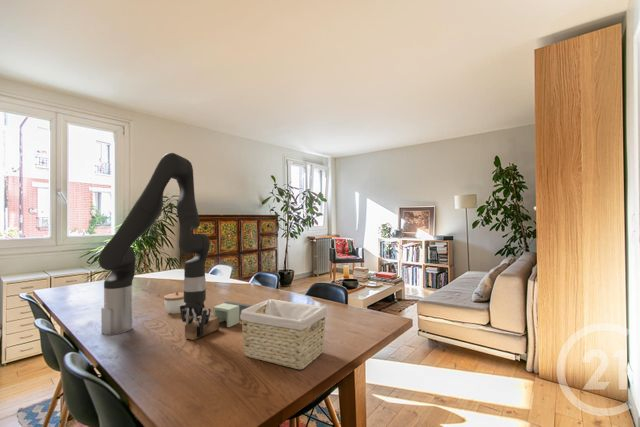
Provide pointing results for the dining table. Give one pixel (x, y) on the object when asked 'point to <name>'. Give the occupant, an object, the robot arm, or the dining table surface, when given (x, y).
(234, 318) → the sage block
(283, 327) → the storage basket
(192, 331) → the walnut block
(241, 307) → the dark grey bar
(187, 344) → the dining table surface
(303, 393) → the dining table surface
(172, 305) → the lidded jar
